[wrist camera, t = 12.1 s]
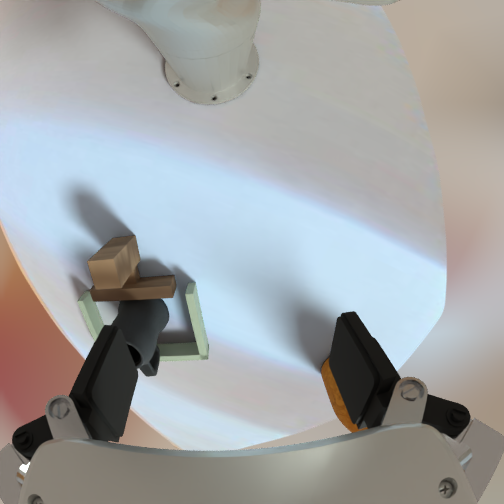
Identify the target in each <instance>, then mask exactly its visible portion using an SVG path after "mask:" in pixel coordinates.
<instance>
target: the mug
mask: <svg viewBox="0 0 504 504" xmlns="http://www.w3.org/2000/svg"><path fill="white" fill-rule="evenodd" d="M168 321H169V312H168V308H167V306H166V304H165V303H164V301H163V300H162V299H143V300H123V301H120V303H119V308H118V315H117V317H116V319H115V320H114V321H113V323H112V325H115V326H117V327H118V329H121V330H122V333H123V335H124V338H125V341H126V343H127V346H128V349H129V351H130V354H131V356H132V359H133V361H134V364H135V366H136V368H137V369H138V368H140V370H141V371H142V372H143V373H144V374H145V376H148V377H149V376H155V375H156V374H157V370H158V366H159V361H160V350H159V348H158V346H157V338H158V335H159V333H160V332H161V331H162V330H163V329H164V328H165V326H166V324H167V323H168Z"/></svg>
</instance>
